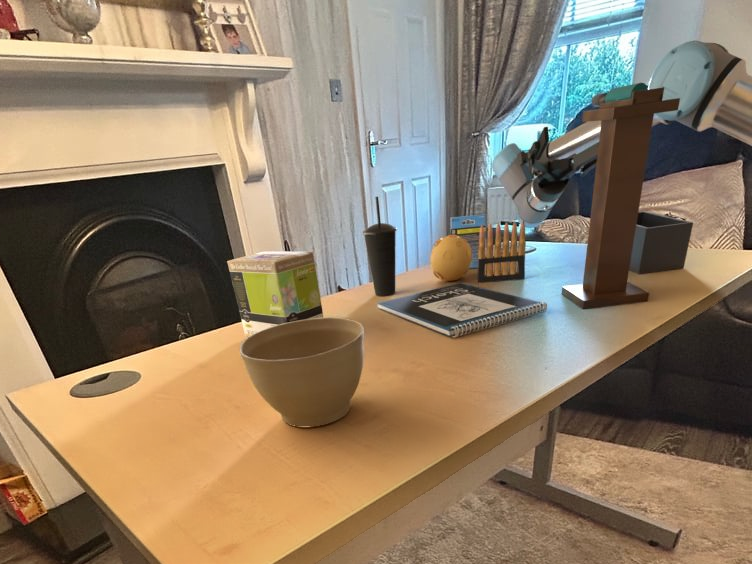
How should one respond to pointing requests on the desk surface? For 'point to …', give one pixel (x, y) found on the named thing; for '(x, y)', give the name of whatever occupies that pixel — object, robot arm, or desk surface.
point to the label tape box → (469, 233)
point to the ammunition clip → (510, 263)
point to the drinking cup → (382, 255)
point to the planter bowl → (307, 367)
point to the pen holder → (659, 243)
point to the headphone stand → (617, 198)
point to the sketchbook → (461, 308)
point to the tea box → (275, 288)
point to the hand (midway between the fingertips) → (581, 129)
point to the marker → (618, 94)
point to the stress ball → (451, 258)
